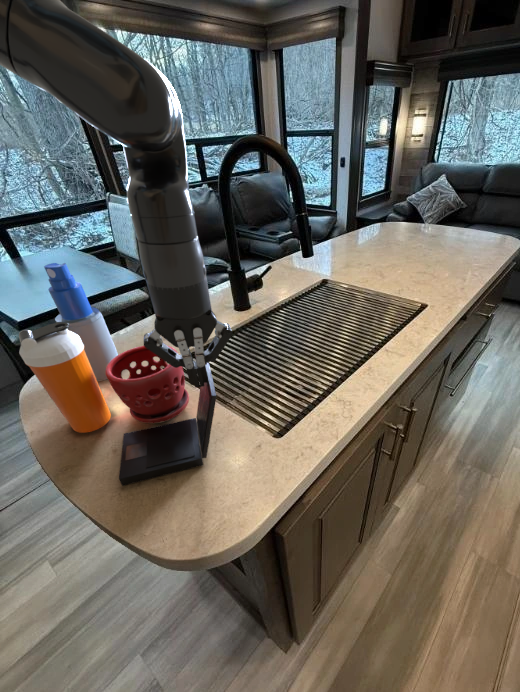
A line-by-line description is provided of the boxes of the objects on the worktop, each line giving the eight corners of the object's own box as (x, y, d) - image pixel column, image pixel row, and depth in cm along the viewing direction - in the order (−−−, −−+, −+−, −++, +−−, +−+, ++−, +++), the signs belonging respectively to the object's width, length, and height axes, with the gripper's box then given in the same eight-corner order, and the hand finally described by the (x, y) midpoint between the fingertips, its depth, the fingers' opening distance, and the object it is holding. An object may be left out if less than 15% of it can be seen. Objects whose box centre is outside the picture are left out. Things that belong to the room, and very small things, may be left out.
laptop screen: (211, 395, 49) (216, 395, 49) (203, 358, 57) (208, 359, 58) (201, 458, 56) (206, 458, 56) (195, 417, 64) (200, 417, 64)
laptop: (122, 486, 54) (118, 478, 53) (126, 440, 62) (123, 433, 61) (203, 465, 57) (201, 458, 56) (197, 424, 65) (195, 417, 64)
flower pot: (169, 383, 76) (155, 336, 69) (205, 406, 70) (192, 357, 62) (114, 411, 68) (90, 362, 61) (147, 440, 62) (126, 389, 54)
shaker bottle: (123, 419, 66) (81, 328, 54) (76, 443, 61) (17, 349, 49) (105, 401, 71) (62, 313, 59) (60, 421, 66) (2, 330, 54)
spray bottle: (108, 382, 77) (58, 272, 61) (74, 379, 78) (16, 270, 62) (130, 362, 83) (89, 258, 68) (98, 359, 85) (51, 257, 69)
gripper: (223, 263, 47) (235, 365, 58) (123, 271, 44) (156, 378, 55) (232, 280, 42) (244, 390, 53) (118, 290, 38) (156, 406, 49)
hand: (199, 384), depth 54 cm, fingers closed
